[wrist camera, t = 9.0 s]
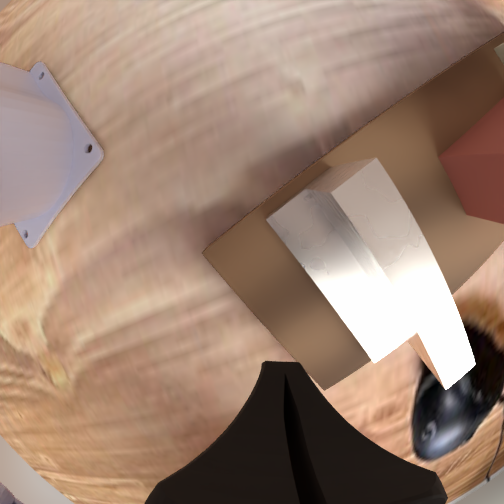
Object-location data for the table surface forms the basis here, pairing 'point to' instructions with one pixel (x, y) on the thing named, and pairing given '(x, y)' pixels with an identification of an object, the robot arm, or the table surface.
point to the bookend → (375, 266)
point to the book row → (500, 52)
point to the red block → (479, 166)
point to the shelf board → (413, 193)
